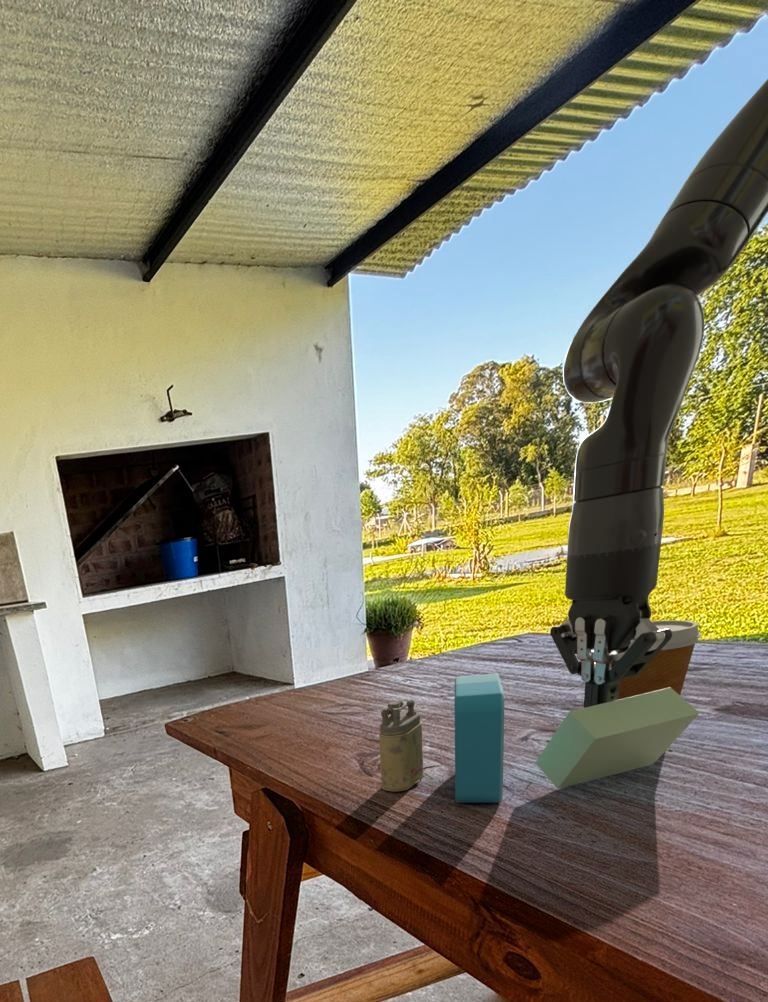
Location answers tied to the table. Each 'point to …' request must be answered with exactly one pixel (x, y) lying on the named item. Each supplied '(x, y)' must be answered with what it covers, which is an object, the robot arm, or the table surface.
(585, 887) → the table surface
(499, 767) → the data package
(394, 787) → the lighter
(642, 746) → the tissue box
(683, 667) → the disposable coffee cup
